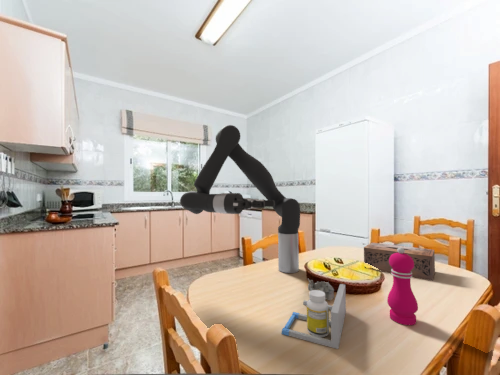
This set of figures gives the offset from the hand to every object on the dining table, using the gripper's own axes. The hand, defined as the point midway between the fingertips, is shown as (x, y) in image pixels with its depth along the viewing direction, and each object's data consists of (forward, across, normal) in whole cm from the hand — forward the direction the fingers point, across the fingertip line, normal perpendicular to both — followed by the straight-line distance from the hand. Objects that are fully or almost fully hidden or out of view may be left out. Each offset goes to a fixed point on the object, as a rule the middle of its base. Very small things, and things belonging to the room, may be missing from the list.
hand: (269, 203), depth 79 cm
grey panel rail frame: (+16, -7, +32) cm, 37 cm away
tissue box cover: (+41, +55, +32) cm, 76 cm away
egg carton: (+14, +13, +32) cm, 38 cm away
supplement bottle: (+18, -11, +32) cm, 38 cm away
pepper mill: (+38, +5, +32) cm, 50 cm away
